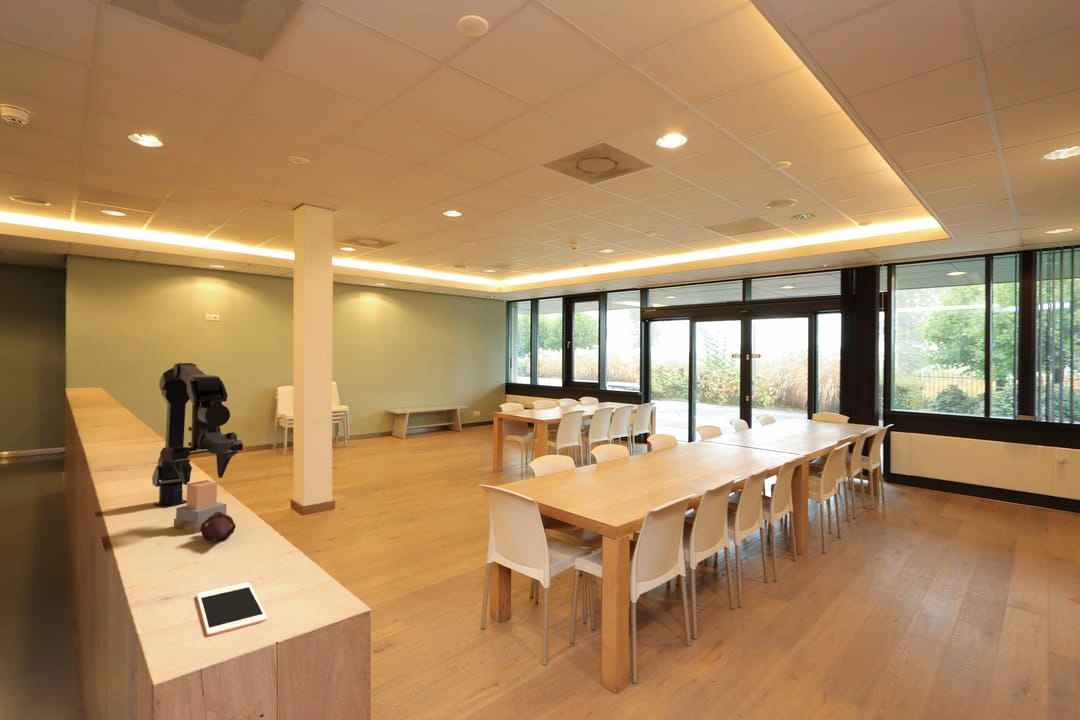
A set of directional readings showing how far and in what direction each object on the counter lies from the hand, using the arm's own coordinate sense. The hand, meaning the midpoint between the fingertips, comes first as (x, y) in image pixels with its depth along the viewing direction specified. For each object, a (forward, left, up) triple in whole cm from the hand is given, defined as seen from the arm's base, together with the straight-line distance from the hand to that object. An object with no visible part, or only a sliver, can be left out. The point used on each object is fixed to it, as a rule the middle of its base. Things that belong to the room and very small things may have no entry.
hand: (203, 481), depth 138 cm
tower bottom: (0, 0, -12) cm, 13 cm away
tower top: (0, 0, -10) cm, 10 cm away
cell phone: (+50, -25, -12) cm, 58 cm away
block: (0, 0, -6) cm, 7 cm away
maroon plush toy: (+15, -5, -12) cm, 20 cm away
